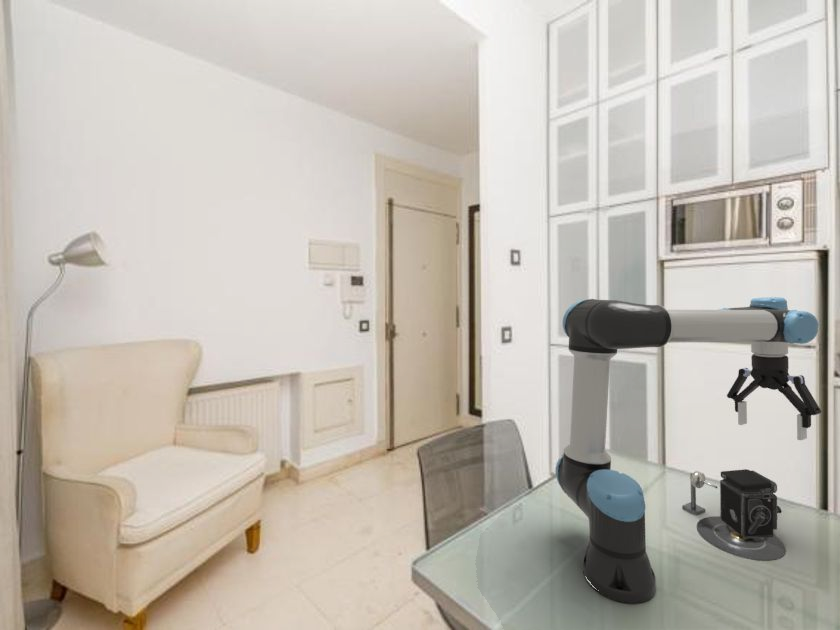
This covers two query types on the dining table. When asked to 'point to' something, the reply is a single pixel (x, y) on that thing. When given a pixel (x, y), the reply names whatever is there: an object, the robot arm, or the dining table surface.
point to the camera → (748, 503)
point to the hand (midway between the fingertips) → (770, 431)
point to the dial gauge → (698, 482)
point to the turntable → (739, 541)
